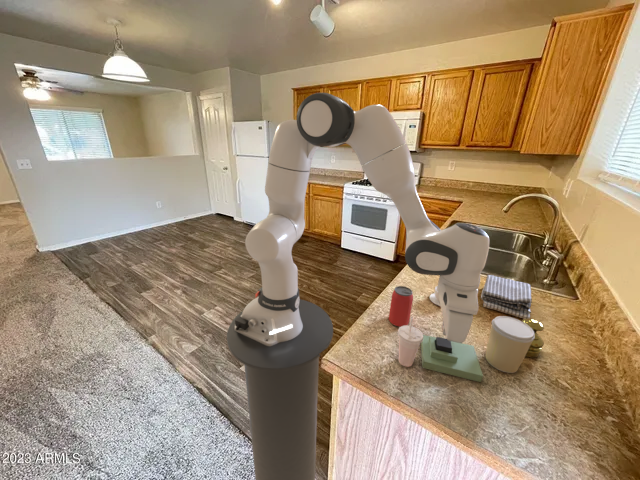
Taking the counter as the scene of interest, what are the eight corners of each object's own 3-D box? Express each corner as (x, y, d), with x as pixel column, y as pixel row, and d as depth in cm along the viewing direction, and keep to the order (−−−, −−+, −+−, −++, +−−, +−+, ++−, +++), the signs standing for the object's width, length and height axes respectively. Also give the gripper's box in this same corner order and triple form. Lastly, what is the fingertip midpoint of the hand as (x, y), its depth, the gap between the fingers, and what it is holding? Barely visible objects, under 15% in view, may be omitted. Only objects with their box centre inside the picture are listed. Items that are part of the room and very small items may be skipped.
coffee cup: (511, 352, 77) (524, 318, 72) (528, 378, 68) (544, 341, 64) (477, 346, 78) (487, 312, 74) (489, 372, 70) (501, 335, 65)
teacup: (433, 307, 96) (435, 296, 95) (426, 293, 106) (428, 282, 104) (461, 310, 95) (464, 299, 94) (452, 295, 105) (454, 284, 103)
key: (436, 350, 72) (437, 345, 71) (435, 341, 75) (436, 336, 74) (450, 353, 71) (452, 348, 70) (449, 344, 74) (450, 339, 73)
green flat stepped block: (422, 367, 70) (424, 356, 69) (420, 340, 80) (422, 329, 79) (481, 382, 67) (485, 370, 65) (471, 351, 76) (475, 340, 75)
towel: (526, 298, 104) (532, 280, 101) (529, 322, 90) (536, 303, 87) (482, 286, 112) (487, 269, 109) (478, 306, 98) (483, 288, 95)
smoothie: (409, 351, 76) (417, 310, 71) (422, 368, 70) (431, 325, 65) (389, 354, 75) (395, 312, 70) (400, 372, 69) (408, 328, 64)
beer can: (406, 330, 84) (411, 298, 80) (385, 323, 87) (390, 292, 83) (410, 319, 90) (416, 288, 85) (391, 313, 93) (395, 283, 88)
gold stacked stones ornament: (541, 349, 78) (552, 321, 75) (536, 362, 73) (548, 333, 70) (511, 336, 83) (521, 309, 79) (505, 348, 78) (515, 320, 75)
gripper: (439, 267, 76) (430, 308, 81) (448, 307, 58) (436, 356, 63) (463, 271, 74) (452, 312, 79) (480, 313, 56) (465, 363, 61)
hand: (445, 332), depth 71 cm, fingers closed
